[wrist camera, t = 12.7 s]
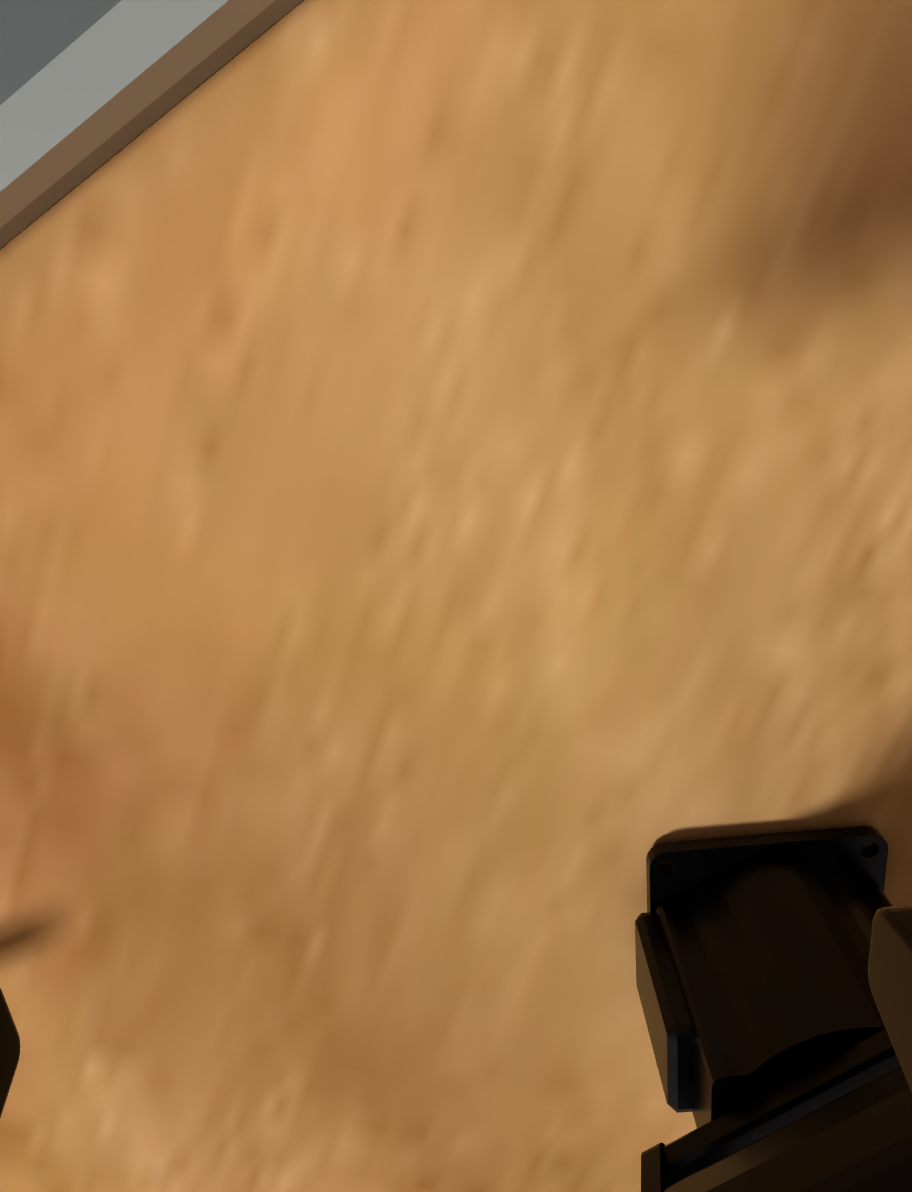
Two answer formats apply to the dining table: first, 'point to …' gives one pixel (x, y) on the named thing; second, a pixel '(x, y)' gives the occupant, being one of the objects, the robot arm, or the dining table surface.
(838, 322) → the dining table surface
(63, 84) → the dock
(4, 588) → the dining table surface
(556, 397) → the dining table surface
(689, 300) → the dining table surface
